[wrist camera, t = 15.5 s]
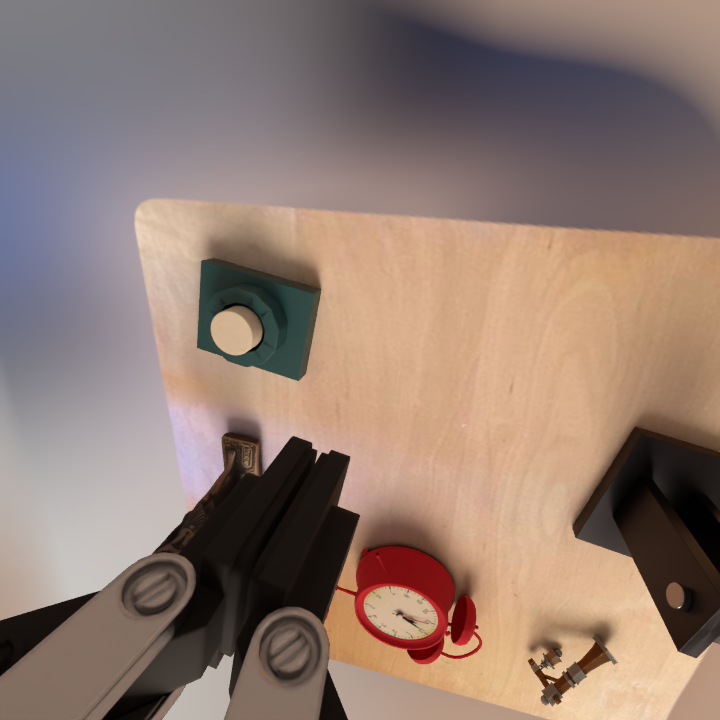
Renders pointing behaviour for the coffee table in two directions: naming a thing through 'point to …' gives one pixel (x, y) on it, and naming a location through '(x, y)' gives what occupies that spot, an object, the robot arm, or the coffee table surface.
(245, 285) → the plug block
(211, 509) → the statue
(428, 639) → the alarm clock
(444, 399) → the coffee table surface
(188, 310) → the coffee table surface
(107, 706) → the robot arm
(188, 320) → the coffee table surface
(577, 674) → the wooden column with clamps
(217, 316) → the power button
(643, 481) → the black lever base
